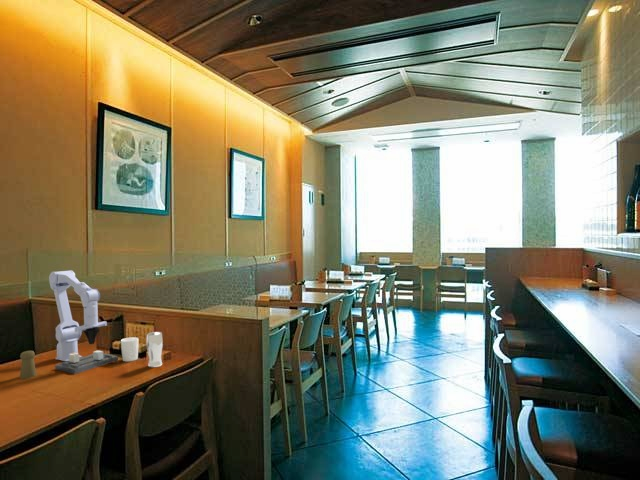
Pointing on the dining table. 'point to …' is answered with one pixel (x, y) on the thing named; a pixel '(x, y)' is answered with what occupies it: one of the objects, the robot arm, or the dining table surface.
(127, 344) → the white cup
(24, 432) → the dining table surface
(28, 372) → the tan bulb-headed cylinder
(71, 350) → the robot arm
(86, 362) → the console
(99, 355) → the fader bluegrey
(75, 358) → the fader cream
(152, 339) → the beer glass
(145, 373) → the dining table surface
